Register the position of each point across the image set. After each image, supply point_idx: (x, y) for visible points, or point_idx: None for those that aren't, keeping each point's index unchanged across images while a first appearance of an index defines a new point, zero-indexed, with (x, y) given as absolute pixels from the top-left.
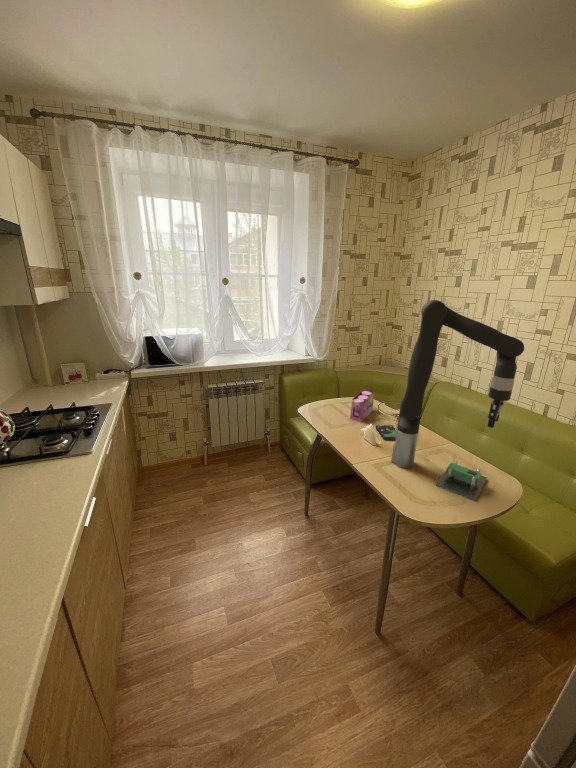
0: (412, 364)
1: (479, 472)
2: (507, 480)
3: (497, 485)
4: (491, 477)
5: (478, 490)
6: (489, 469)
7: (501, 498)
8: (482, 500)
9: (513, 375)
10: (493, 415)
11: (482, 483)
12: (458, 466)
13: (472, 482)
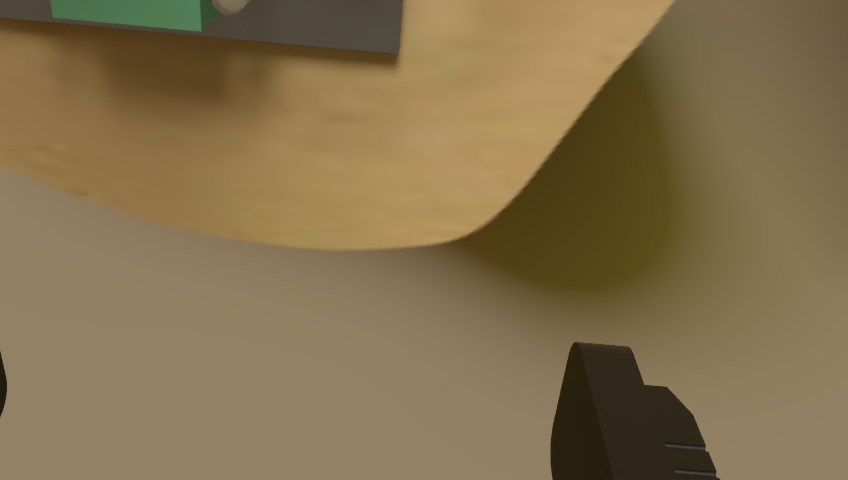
0: None
1: (196, 10)
2: (501, 195)
3: (357, 135)
4: (468, 81)
5: None
6: (622, 51)
7: (175, 173)
8: (21, 54)
9: None
10: (600, 472)
11: (252, 29)
12: None
13: None
